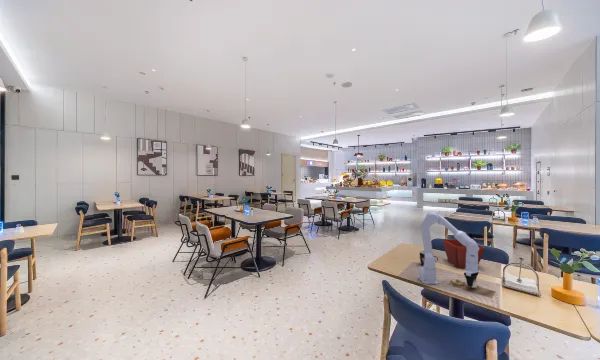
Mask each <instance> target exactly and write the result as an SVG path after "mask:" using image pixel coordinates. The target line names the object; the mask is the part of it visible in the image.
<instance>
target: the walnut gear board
mask: <svg viewBox="0 0 600 360" xmlns="http://www.w3.org/2000/svg"><path fill="white" fill-rule="evenodd" d="M447 285H448V286H451V287H454V288H457V289H461V290H463V291H467V292H470V293H474V294H476V295H480V296H482V297H483V296H484V297H487V298H489V299H493V297H494V296H495V294H496V292H497V291H495V290H492V289H488V288H484V287H482V286H478V285H477V287H476V288H475V287H473V288H470V287H469V286H467V285H466V281H462V280H460V279H455V278H452V279H450V282H449V283H448V284H447Z"/></svg>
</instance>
